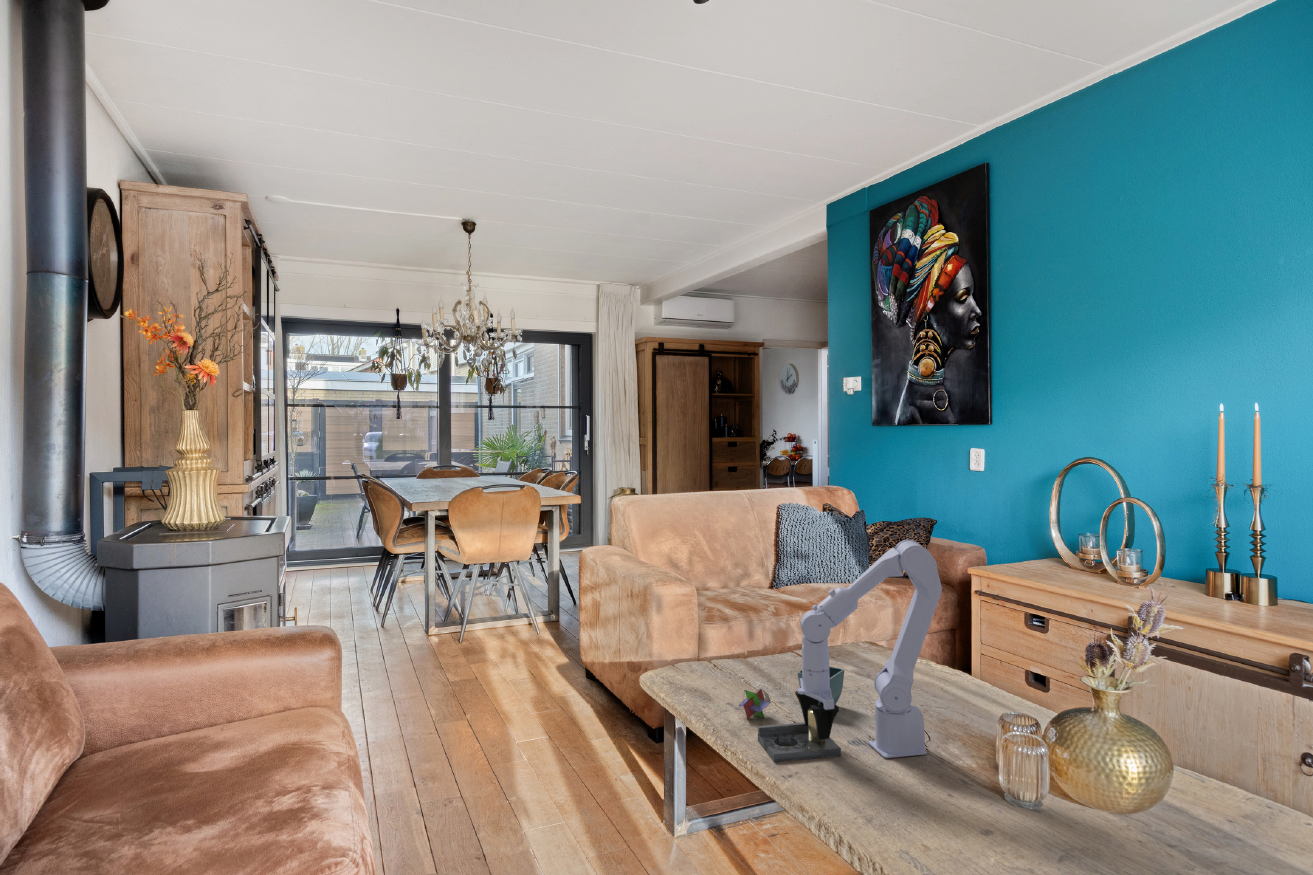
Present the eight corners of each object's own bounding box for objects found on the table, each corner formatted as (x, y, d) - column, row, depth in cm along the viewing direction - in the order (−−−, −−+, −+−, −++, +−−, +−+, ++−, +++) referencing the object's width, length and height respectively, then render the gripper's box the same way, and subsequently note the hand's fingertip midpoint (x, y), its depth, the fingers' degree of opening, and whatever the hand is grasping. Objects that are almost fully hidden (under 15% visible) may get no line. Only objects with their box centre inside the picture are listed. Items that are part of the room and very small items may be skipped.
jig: (820, 735, 165) (820, 720, 165) (841, 755, 154) (840, 740, 155) (757, 740, 163) (757, 726, 163) (774, 762, 152) (773, 746, 152)
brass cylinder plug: (821, 734, 162) (821, 707, 162) (828, 741, 158) (827, 713, 158) (806, 736, 161) (805, 708, 161) (812, 742, 157) (811, 714, 157)
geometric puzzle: (749, 717, 171) (763, 685, 174) (728, 709, 176) (742, 678, 179) (767, 730, 174) (780, 698, 178) (745, 721, 180) (759, 690, 183)
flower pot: (831, 716, 177) (830, 678, 177) (797, 708, 182) (796, 671, 182) (845, 705, 184) (845, 668, 184) (812, 698, 189) (812, 662, 189)
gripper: (786, 659, 166) (787, 720, 166) (810, 679, 152) (811, 746, 152) (816, 657, 167) (817, 717, 167) (843, 677, 153) (844, 743, 153)
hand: (816, 731), depth 159 cm, fingers open, 7 cm apart
